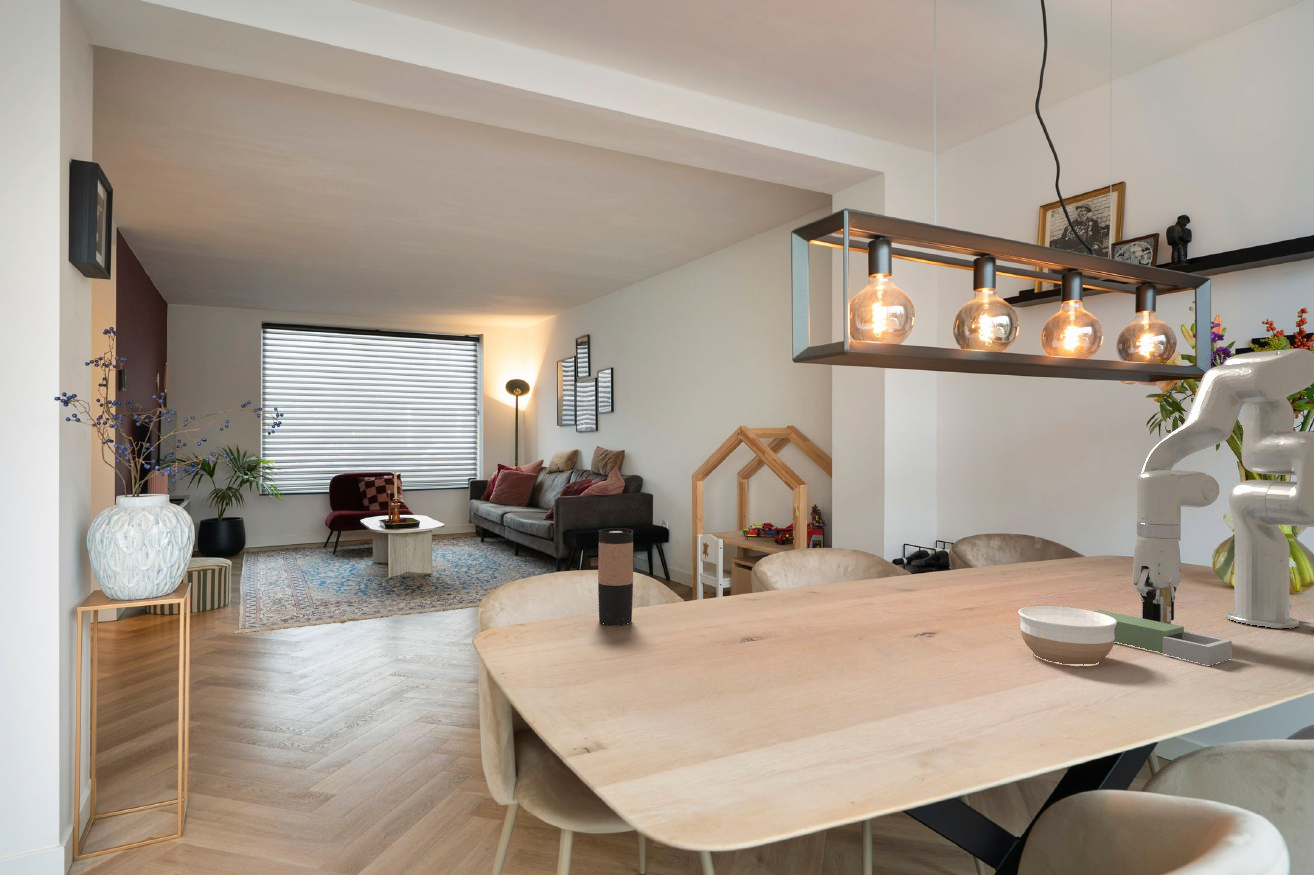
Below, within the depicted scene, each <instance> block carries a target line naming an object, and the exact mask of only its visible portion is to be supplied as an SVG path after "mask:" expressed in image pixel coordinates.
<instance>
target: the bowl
mask: <svg viewBox="0 0 1314 875" xmlns="http://www.w3.org/2000/svg"><path fill="white" fill-rule="evenodd" d="M1093 611H1094V610H1088V609H1082V608H1075V607H1066V606H1053V605H1052V606H1051V605H1041V606H1040V605H1039V606H1038V605H1037V606H1036V605H1035V606H1025V607H1022V608H1020V609H1019V610H1018V612H1017V613H1018V615H1019V616H1018V617H1019V618H1020V633H1021V634H1020V635H1021V638H1022V640H1023V641H1024V643H1025V645H1026V646H1027V647H1028V648H1029V649H1030V650H1031V651H1032V652H1033V655H1034V654H1035V655H1036V656H1038V657H1040V658H1042V659H1046V660H1048V661H1052V662H1059V663H1062V664H1083V665H1084V664H1096V663H1098V662H1100V663H1101V661H1102V660H1103V659H1104V658H1106V656H1109V653H1110V652H1111V651H1112V649H1113V648H1114V645H1115V644H1114V639H1115V636H1114V629H1115V626H1116V624H1117V621H1116V620H1115V619H1114V618H1112V617H1110V616H1108V615H1105V614H1101V613H1097V612H1093Z"/></svg>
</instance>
